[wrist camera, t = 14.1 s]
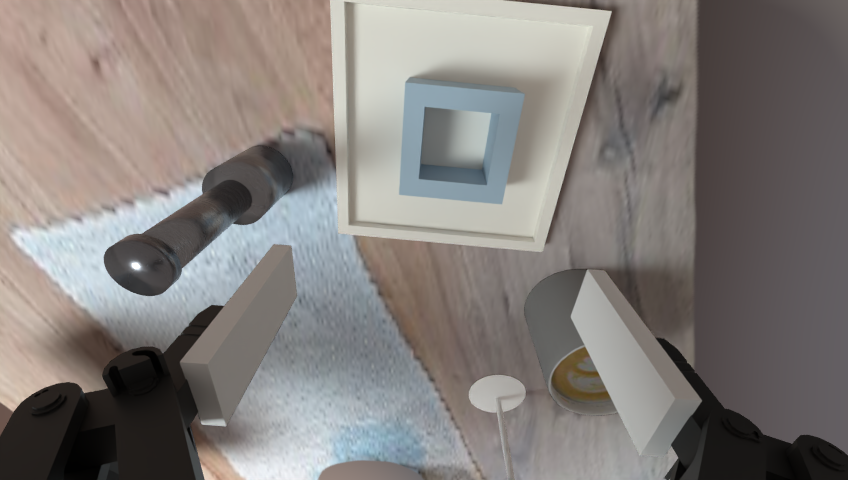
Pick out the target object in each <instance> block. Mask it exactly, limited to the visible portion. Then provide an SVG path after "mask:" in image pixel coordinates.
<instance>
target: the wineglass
mask: <svg viewBox="0 0 848 480" xmlns="http://www.w3.org/2000/svg"><path fill="white" fill-rule="evenodd" d="M525 394H526V390H525V387H524V385H523V384H522V383H521V382H520V381H519V380H517V379H515V378H513V377H510V376H506V375H491V376H487V377H484V378H482V379H480V380H478V381H476V382H475V383H474V384H473V385H472V386H471V388H470V390H469V399H470V401H471V403H472V404H473V405H474V406H475V407H476V408H478V409H481V410H483V411H487V412H497V416H498V422H499V429H500V435H501V441H502V448H503V454H504V460H505V467H506V473H507V479H508V480H515V478H514V472H513V467H512V461H511V455H510V449H509V444H508V438H507V432H506V426H505V421H504V415H503V412H505V411H509V410H511V409H514V408H516V407H517V406H518V405H520V404H521V403H522V401H523V400H524V398H525Z"/></svg>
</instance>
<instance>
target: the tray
mask: <svg viewBox="0 0 848 480" xmlns="http://www.w3.org/2000/svg"><path fill="white" fill-rule="evenodd" d="M330 7H331V36H332V65H333V94H334V123H335V151H336V180H337V209H338V234H349V235H360V236H371V237H382V238H393V239H403V240H414V241H425V242H436V243H447V244H458V245H469V246H480V247H491V248H502V249H512V250H523V251H534V252H543V249H544V245H545V242H546V238H547V235H548V231H549V228H550V224H551V221H552V217H553V214H554V210H555V207H556V203H557V200H558V197H559V193H560V190H561V186H562V183H563V179H564V176H565V172H566V169H567V165H568V162H569V158H570V155H571V151H572V148H573V144H574V141H575V137H576V134H577V130H578V127H579V124H580V120H581V117H582V113H583V110H584V106H585V103H586V99H587V96H588V92H589V89H590V85H591V82H592V78H593V75H594V71H595V68H596V64H597V61H598V57H599V54H600V51H601V47H602V44H603V40H604V37H605V33H606V30H607V26H608V23H609V19H610V16H611V12H612V11H606V10H596V9H586V8H576V7H566V6H556V5H546V4H535V3H525V2H515V1H505V0H330ZM409 77H411V78H421V79H431V80H442V81H452V82H462V83H473V84H483V85H493V86H503V87H514V88H516V89H518V90H519V91H521V92H523V93H524V94H525V97H524V101H523V106H522V111H521V116H520V121H519V125H518V130H517V135H516V140H515V145H514V150H513V154H512V159H511V164H510V169H509V174H508V178H507V183H506V188H505V193H504V198H503V202H502V204H492V203H481V202H471V201H460V200H449V199H439V198H428V197H417V196H406V195H399V186H400V168H401V149H402V131H403V113H404V95H405V82H406V81H407V80H408V78H409ZM490 118H491V113H484V112H473V111H463V110H453V109H442V108H432V107H426V108H425V120H424V132H423V144H422V156H421V164H425V165H436V166H446V167H457V168H468V169H478V170H482V165H483V160H484V154H485V148H486V142H487V136H488V130H489V124H490Z"/></svg>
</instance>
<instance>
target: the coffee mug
mask: <svg viewBox="0 0 848 480" xmlns="http://www.w3.org/2000/svg"><path fill="white" fill-rule="evenodd" d="M586 272H587V270H581V269H574V270H566V271H562V272H558V273H556V274H553V275H551V276H549V277H547V278H545V279H544V280H542V281H541V282H540V283H538V284H537V285H536V286H535V287H534V288H533V289H532V291H531V292H530V293H529V295H528V297H527V299H526V302H525V307H524V313H525V318H526V321H527V324H528V327H529V331H530V334H531V337H532V340H533V343H534V347H535V350H536V353H537V356H538V359H539V362H540V366H541V369H542V372H543V375H544V378H545V382H546V385H547V388H548V390H549V393H550V395H551V397H552V398H553V400H554V401H555V402H556V403H557V404H558V405H559V406H561V407H563V408H564V409H566V410H568V411H571V412H574V413H577V414H581V415H589V416H602V415H611V414H616V413H618V411H617V409H616V407H615V405H614V403H613V401H612V399H611V397H610V395H609V393H608V391H607V389H606V387H605V385H604V383H603V381H602V379H601V377H600V375H599V373H598V371H597V369H596V367H595V365H594V363H593V361H592V359H591V357H590V355H589V353H588V351H587V349H586V347H585V345H584V343H583V341H582V339H581V337H580V335H579V333H578V331H577V329H576V327H575V325H574V323H573V321H572V319H571V314H572V311H573V308H574V306H575V303H576V300H577V297H578V294H579V291H580V289H581V286H582V283H583V280H584V277H585V274H586Z"/></svg>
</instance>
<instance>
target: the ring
mask: <svg viewBox="0 0 848 480" xmlns="http://www.w3.org/2000/svg"><path fill="white" fill-rule="evenodd" d="M524 97H525V94H524V93H523V92H521V91H519V90H518V89H516V88H514V87H503V86H493V85H483V84H473V83H462V82H452V81H442V80H431V79H421V78H411V77H409V78H408V80H407V81H406V82H405V95H404V113H403V131H402V149H401V168H400V186H399V195H406V196H417V197H428V198H439V199H449V200H460V201H471V202H481V203H492V204H502V202H503V198H504V193H505V188H506V183H507V178H508V174H509V169H510V164H511V159H512V154H513V150H514V145H515V140H516V135H517V130H518V125H519V121H520V116H521V111H522V106H523V101H524ZM426 107H432V108H442V109H453V110H463V111H473V112H484V113H491V118H490V124H489V130H488V136H487V142H486V148H485V154H484V160H483V165H482V170H478V169H468V168H457V167H446V166H436V165H425V164H421V156H422V144H423V132H424V120H425V108H426Z"/></svg>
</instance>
